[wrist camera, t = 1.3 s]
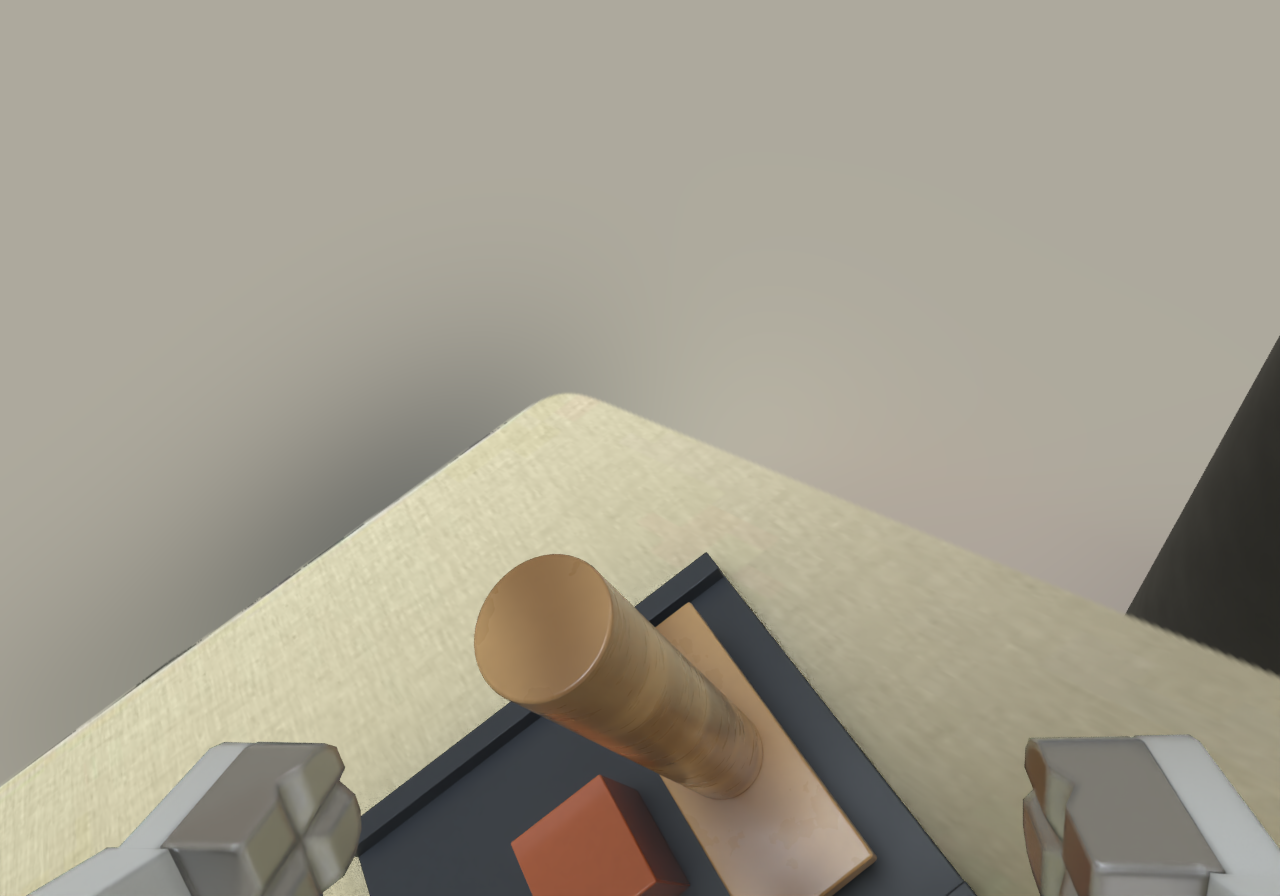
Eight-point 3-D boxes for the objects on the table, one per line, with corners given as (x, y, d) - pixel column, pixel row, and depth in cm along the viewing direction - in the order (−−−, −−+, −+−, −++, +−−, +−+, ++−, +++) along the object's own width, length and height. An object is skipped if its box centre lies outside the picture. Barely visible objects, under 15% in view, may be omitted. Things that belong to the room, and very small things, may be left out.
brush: (715, 632, 32) (522, 400, 18) (884, 863, 26) (796, 793, 12) (633, 695, 32) (371, 512, 18) (783, 943, 26) (569, 972, 11)
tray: (717, 568, 35) (706, 551, 33) (986, 911, 25) (989, 910, 24) (365, 837, 34) (336, 833, 32) (506, 1299, 24) (474, 1326, 23)
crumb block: (637, 788, 30) (599, 773, 27) (691, 885, 28) (656, 881, 24) (556, 851, 30) (508, 843, 27) (604, 954, 28) (558, 959, 24)
